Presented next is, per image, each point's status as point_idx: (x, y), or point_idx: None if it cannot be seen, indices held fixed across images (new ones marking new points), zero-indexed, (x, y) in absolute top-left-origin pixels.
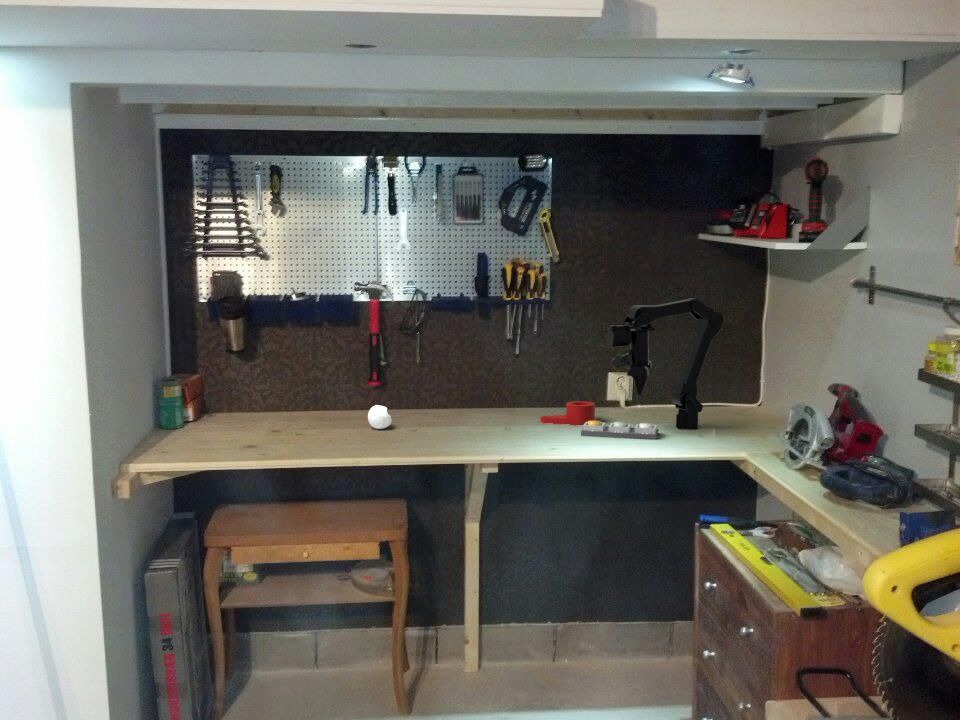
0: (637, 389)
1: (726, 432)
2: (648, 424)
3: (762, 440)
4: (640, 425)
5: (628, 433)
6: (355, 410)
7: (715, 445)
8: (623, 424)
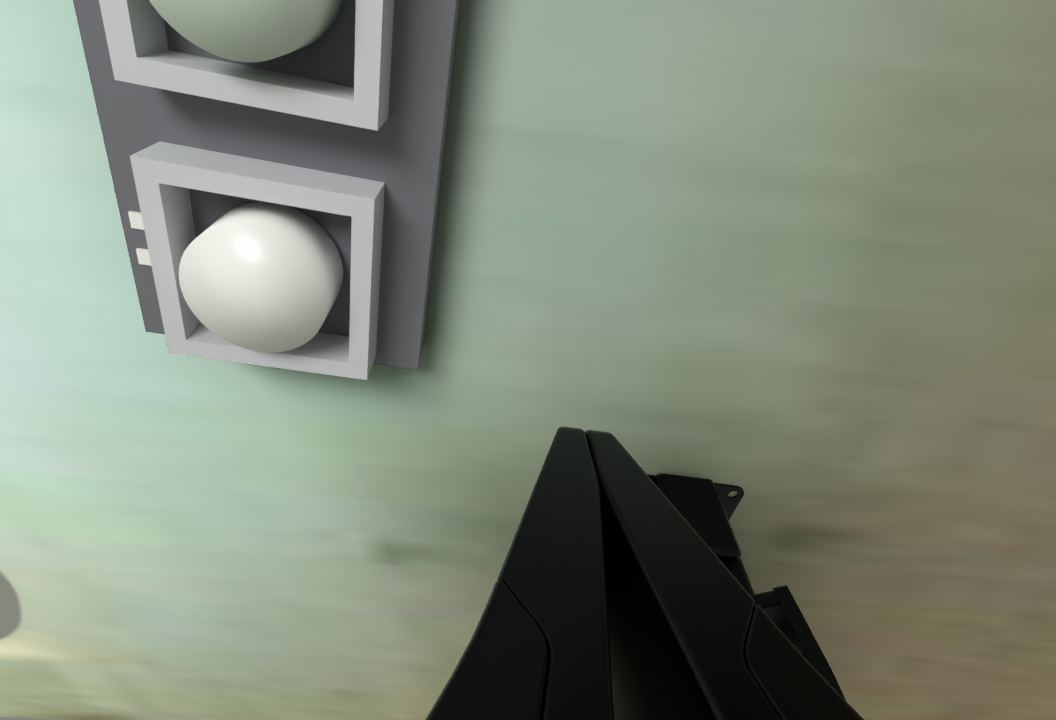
0: (533, 501)
1: None
2: (247, 316)
3: (355, 716)
4: (205, 231)
5: (87, 61)
6: None
7: (154, 585)
8: (155, 6)
